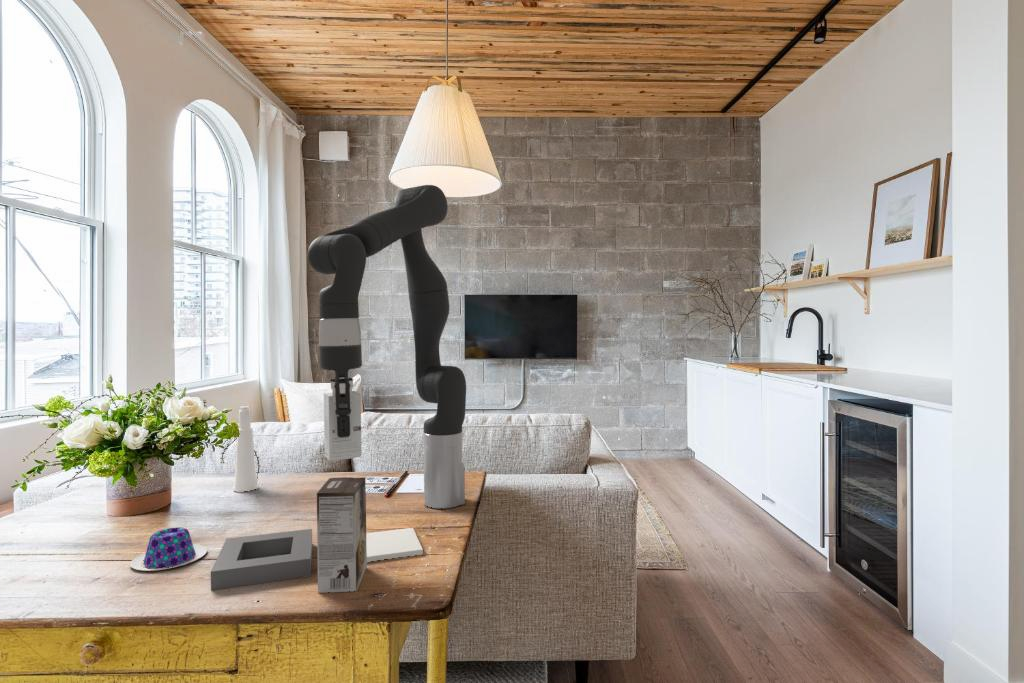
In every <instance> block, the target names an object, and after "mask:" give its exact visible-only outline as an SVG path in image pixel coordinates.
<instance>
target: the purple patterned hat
mask: <svg viewBox="0 0 1024 683" xmlns="http://www.w3.org/2000/svg"><path fill="white" fill-rule="evenodd" d="M190 534H191V533H190V531H189V530H188V529H187V528H184V527H180V526H178V527H168V528H165V529H161V530H157V531H156V532H155V533H152V534H151V535H150V537H149V539H148V543H147V548H146V551H145V552H143V553H141V554H139V555H137V556H136V557H135V558H133V559H132V560H130V563H129V566H130V567H131V568H132V569H134V570H137V571H145V572H146V571H148V572H150V571H161V570H167V569H172V568H173V569H174V568H177V567H182V566H185V565H188V564H191V563H192V562H195V561H197V560H199V559H200V558H202V557H203V556H204V555H206V554H207V552H208V548H207V547H206V545H205V546H204V545H202V544H199V543H193V541H192V538H191V537H192V536H191V535H190ZM192 558H194V559H192ZM143 560H144V563H143V565H144V567H149V568H151V567H153V568H151V569H147V568H143V567H141V564H142V561H143ZM175 565H176V566H175ZM167 566H168V567H169V568H167ZM172 566H173V567H172ZM164 567H166V568H164ZM159 568H162V569H159Z"/></svg>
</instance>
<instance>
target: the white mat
mask: <svg viewBox="0 0 1024 683" xmlns="http://www.w3.org/2000/svg"><path fill="white" fill-rule="evenodd" d="M366 548H367V563H371V561H374V562H378V561H377V560H381V561H385V560H384V559H388V560H393V559H392V558H395V559H399V558H398V557H403V558H408V557H407V556H410V557H415V555H417V556H423V555H424V549H423V547H422V544H421V542H420V540H419V538H418V536H417V534H416V532H415V530H414V527H407V528H400V529H392V530H391V529H390V530H383V531H382V530H381V531H375V532H366ZM422 554H423V555H422Z"/></svg>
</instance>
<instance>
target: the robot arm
mask: <svg viewBox="0 0 1024 683" xmlns="http://www.w3.org/2000/svg"><path fill="white" fill-rule="evenodd" d="M448 208H449V206H448V202H447V197H446V194H445V192H444V191H443V189H441V188H440V187H438V186H436V185H434V184H425V185H417V186H412V187H408V188H403V189H401V190H399V191H398V192H396V195H395V197H394V207H391V208H389V209H386V210H382V211H378V212H375V213H374V214H370V215H368V216H365V217H364V218H362V219H360V220H358V221H356V222H354V223H353V224H351V225H349V226H346V227H344V228H341V229H340V228H338V229H337V230H334V231H331V232H328V233H324V234H322V235H319V236H318V237H316V238H315V239H314V240H313V241H312V242H311V243H310V245H309V247H308V249H307V261H308V263H309V265H310V267H311V268H312V269H313V270H315V271H316V272H317V273H320V274H323V275H334V278H333V281H332V283H331V284H330V285H328V286H326V287H324V288H321V290H319V294H318V312H319V315H318V316H319V317H318V318H319V322H318V352H319V353H318V356H319V368H320V369H321V370H324V371H334V374H335V376H334V377H333V378H330V389H331V391H332V392H331V393H333V404H335V405H336V410H335V415H336V417H337V433H338V437H349V436H350V414H351V409H350V404H351V403H352V391H353V388H354V379H353V377H349V370H354V369H356V370H357V369H360V368H361V367H362V366H363V355H362V353H363V352H362V333H361V332H362V330H361V324H360V319H359V317H360V310H359V295H360V294H359V293H360V291H361V287H362V284H363V283H362V282H363V277H364V273H365V270H366V263H367V258H369V257H372V256H374V255H375V254H376V255H377V254H378V253H379V252H381V251H383V250H384V249H385V248H387V247H389V246H390V245H392V244H393V243H395V242H397V241H399V240H400V244H401V248H402V253H403V258H404V265H405V273H406V280H407V292H408V300H409V301H408V302H409V306H410V315H411V321H412V329H413V342H414V343H413V344H414V358H415V359H414V360H415V364H414V365H415V371H414V372H415V384H416V391H417V393H418V395H419V398H420V399H421V400H423V402H426V403H430V404H436V412H435V413H436V414H434V416H432V417H430V418H427V419H425V421H424V422H423V501H424V502H423V503H424V505H425V507H427V506H428V508H431V507H432V509H441V508H442V509H451V508H455V507H458V506H461V505H465V504H466V483H465V482H466V475H465V474H466V472H465V471H466V465H465V464H464V463H463V426H464V425H463V424H464V422H465V418H466V402H467V382H466V376H465V374H464V372H463V371H462V369H461V368H460V367H458V366H453V365H442V362H441V358H440V343H441V342H440V341H441V337H442V334H443V333H444V332H443V331H444V329H445V327H446V324H447V321H448V319H449V315H450V300H449V291H448V290H449V289H448V284H447V281H446V278H445V276H444V275H443V272H441V269H440V268H439V267H438V266H437V264H436V263H435V262H434V261H433V259H432V257H431V256H430V255H429V252H428V251H427V248H426V246H425V242H424V237H423V232H422V231H423V230H422V229H425V228H426V227H427V228H428V227H433V226H436V225H439V224H440V223H442V222H443V221H444V220H445V219H446V217H447V214H448V210H449V209H448ZM339 404H347V408H339Z"/></svg>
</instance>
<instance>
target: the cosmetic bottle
mask: <svg viewBox="0 0 1024 683" xmlns="http://www.w3.org/2000/svg"><path fill="white" fill-rule="evenodd" d="M251 421H252V419H251V409H250V406H249V405H242V406H240V407H239V411H238V429H239V433H240V436H239V437H237V436H236V448H235V449H236V450H235V451H236V452H235V470H234V481H233V487H232V492H234V491H237V492H236V493H245V492H244V491H248V492H251V491H250V490H253V491H255V490H254V489H256V490H258V488H259V484H258V480H257V473H256V464H255V450H254V448H255V446H254V430H253V428H252V426H251ZM238 491H239V492H238Z"/></svg>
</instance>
